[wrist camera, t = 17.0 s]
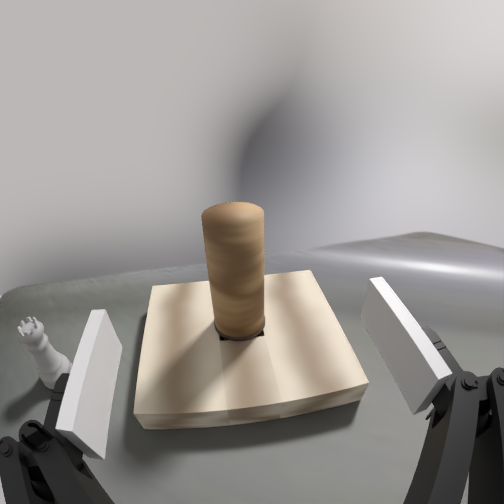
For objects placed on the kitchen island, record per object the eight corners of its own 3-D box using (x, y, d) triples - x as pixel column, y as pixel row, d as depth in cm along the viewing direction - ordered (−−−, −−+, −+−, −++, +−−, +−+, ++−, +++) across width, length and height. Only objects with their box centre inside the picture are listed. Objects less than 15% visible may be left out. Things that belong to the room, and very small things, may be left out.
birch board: (308, 288, 39) (310, 269, 38) (360, 399, 24) (368, 382, 22) (157, 304, 37) (152, 285, 36) (144, 429, 22) (133, 413, 20)
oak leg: (260, 323, 34) (259, 199, 26) (269, 357, 29) (271, 224, 22) (215, 328, 33) (200, 204, 26) (219, 363, 29) (199, 230, 21)
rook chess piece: (78, 360, 28) (49, 308, 24) (74, 391, 24) (38, 339, 20) (47, 363, 27) (16, 312, 23) (41, 392, 23) (4, 342, 19)
